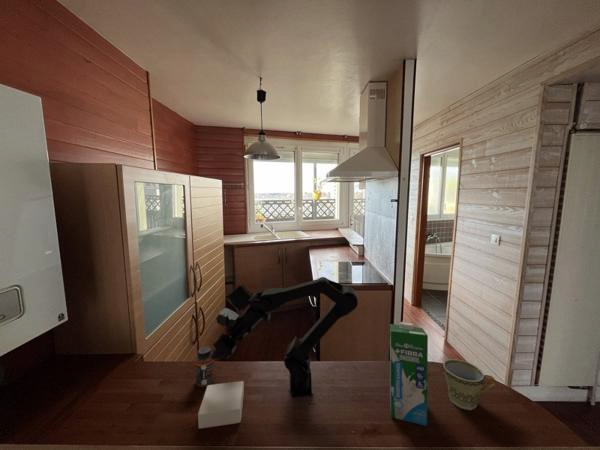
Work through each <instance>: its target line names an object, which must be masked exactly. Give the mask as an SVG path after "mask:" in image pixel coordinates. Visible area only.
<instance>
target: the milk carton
mask: <svg viewBox="0 0 600 450" xmlns="http://www.w3.org/2000/svg"><path fill="white" fill-rule="evenodd" d="M428 341H429V336H428V334H427V333H426V331H425V330H424V328H423V327H418V326H415V324H414V323H411V322H406V321H401V322H399V324H395V323H394V324H392V323H389V401H390V406H389V407H390V418H394V419H397V420H401V421H405V422H409V423H413V424H417V425H422V426H426V427H427V426H428V370H429V369H428V366H429V365H428V360H429V357H428V355H429V354H428V353H429V352H428V351H429V350H428V349H429V347H428V344H429V342H428Z"/></svg>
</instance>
